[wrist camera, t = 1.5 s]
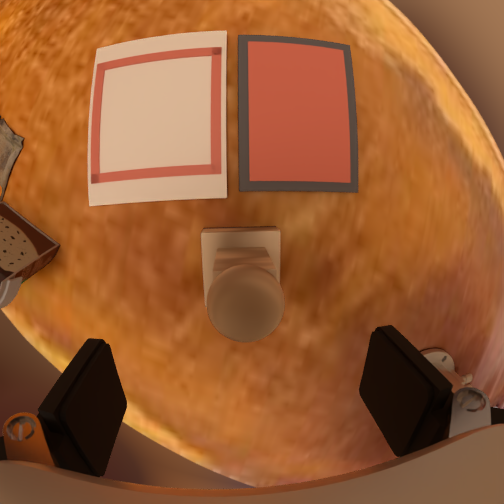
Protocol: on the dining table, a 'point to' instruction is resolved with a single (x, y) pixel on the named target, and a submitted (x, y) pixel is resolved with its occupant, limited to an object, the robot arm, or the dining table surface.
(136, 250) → the dining table surface
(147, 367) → the dining table surface
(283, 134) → the ink pad
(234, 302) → the stamp
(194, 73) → the marked board
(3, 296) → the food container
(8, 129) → the parchment
